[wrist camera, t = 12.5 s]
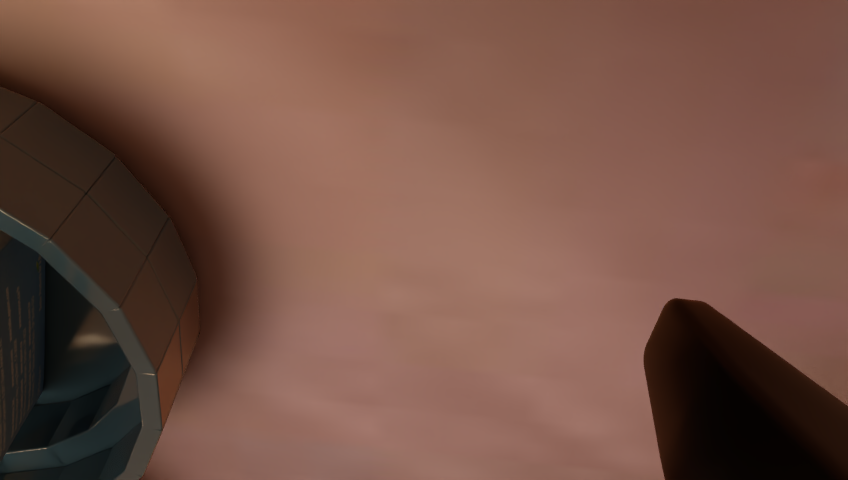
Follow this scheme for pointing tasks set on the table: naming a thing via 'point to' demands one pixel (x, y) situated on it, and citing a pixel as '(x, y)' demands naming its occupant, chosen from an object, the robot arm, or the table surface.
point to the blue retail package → (20, 335)
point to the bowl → (94, 300)
